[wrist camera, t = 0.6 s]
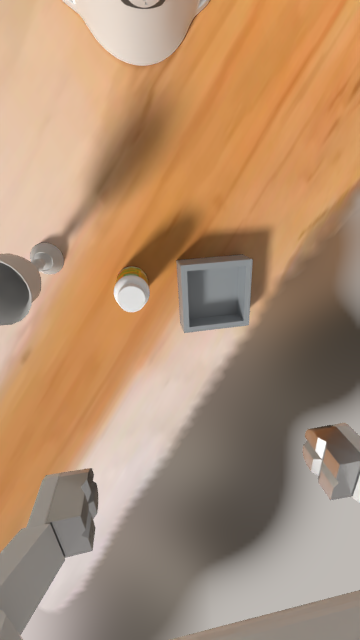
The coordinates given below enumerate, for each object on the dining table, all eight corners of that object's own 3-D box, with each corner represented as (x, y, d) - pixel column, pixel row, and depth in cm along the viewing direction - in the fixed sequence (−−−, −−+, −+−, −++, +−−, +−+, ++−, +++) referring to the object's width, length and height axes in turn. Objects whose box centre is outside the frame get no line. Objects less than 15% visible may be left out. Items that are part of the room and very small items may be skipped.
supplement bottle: (140, 260, 45) (141, 274, 36) (152, 288, 47) (156, 308, 39) (111, 273, 45) (105, 290, 36) (125, 300, 48) (122, 322, 39)
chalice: (79, 266, 44) (47, 303, 28) (46, 288, 45) (-5, 337, 28) (48, 226, 41) (-9, 242, 25) (13, 250, 41) (-66, 280, 25)
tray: (176, 260, 46) (180, 265, 42) (242, 254, 47) (252, 259, 43) (180, 322, 51) (184, 332, 47) (239, 315, 52) (248, 325, 48)
